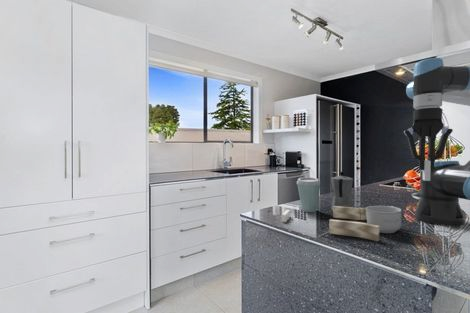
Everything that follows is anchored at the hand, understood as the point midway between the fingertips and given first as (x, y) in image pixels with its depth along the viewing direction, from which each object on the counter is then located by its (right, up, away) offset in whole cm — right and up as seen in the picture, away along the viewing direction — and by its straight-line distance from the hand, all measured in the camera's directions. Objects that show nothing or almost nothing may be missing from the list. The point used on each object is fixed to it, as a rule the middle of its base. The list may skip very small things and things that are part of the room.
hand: (426, 180), depth 83 cm
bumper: (-42, -18, +20) cm, 50 cm away
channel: (-20, -18, +10) cm, 28 cm away
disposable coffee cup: (-29, -18, +33) cm, 48 cm away
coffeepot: (-15, -17, +31) cm, 38 cm away
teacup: (-10, -18, +6) cm, 22 cm away
